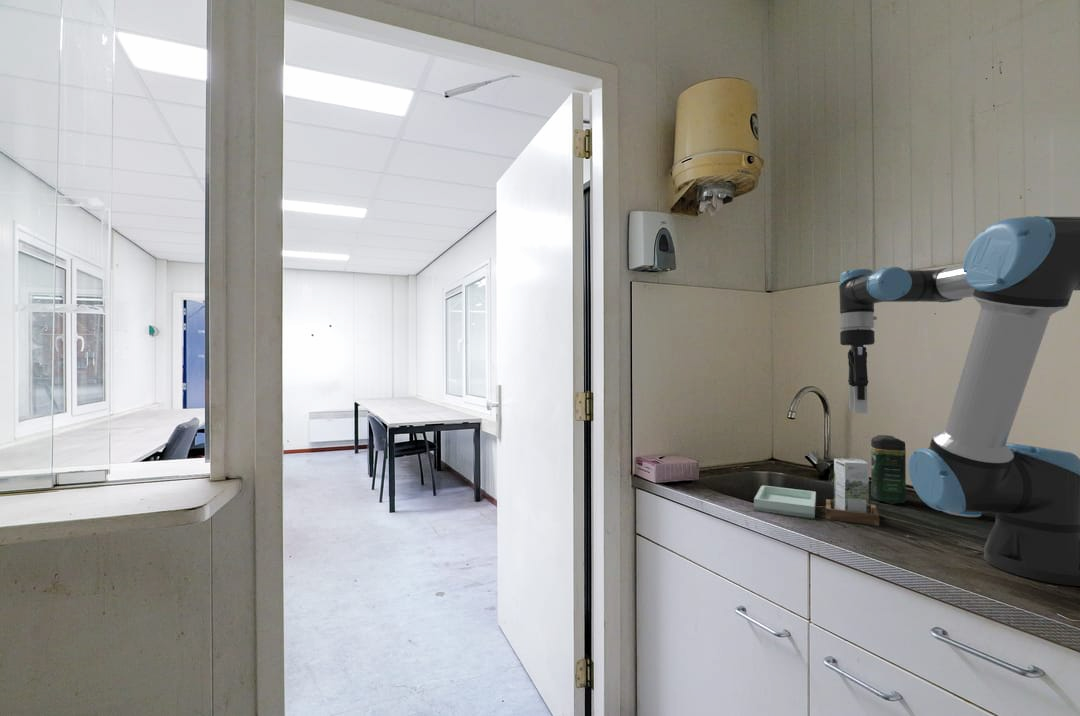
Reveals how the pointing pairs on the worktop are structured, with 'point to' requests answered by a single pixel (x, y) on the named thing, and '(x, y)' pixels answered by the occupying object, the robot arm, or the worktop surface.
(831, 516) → the walnut collar
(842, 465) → the syrup box
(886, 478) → the coffee jar
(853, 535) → the worktop surface
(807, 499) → the mint tray
